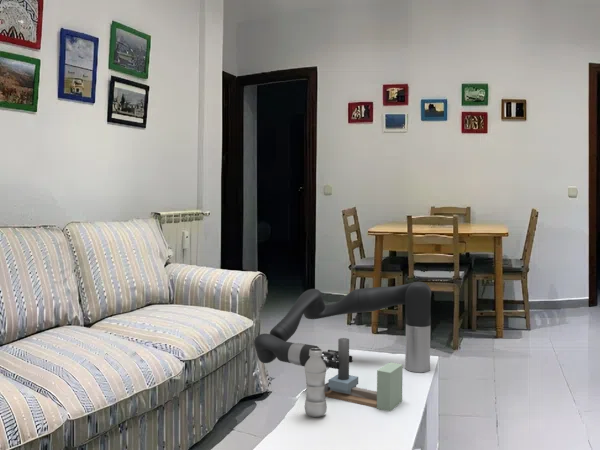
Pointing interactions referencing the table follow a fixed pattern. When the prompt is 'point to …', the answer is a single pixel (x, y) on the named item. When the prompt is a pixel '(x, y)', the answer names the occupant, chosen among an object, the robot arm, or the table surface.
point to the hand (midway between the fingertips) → (346, 362)
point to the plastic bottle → (315, 384)
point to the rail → (354, 396)
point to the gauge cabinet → (389, 386)
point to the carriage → (343, 370)
